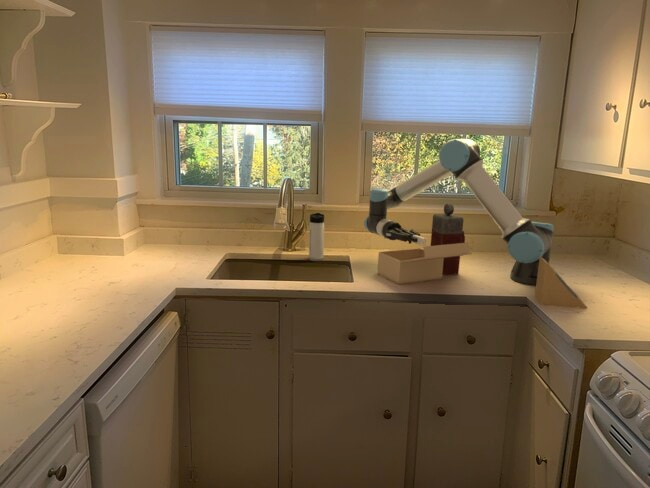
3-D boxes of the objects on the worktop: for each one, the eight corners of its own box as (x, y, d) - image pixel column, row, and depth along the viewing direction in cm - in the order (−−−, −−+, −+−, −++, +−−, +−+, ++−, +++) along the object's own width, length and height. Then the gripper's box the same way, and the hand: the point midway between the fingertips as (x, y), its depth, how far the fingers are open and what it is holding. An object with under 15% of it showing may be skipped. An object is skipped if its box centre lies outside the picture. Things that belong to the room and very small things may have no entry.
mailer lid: (423, 246, 168) (424, 258, 167) (469, 242, 176) (471, 253, 176) (398, 251, 181) (400, 262, 181) (443, 246, 190) (444, 257, 190)
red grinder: (463, 274, 200) (470, 205, 194) (438, 275, 197) (444, 205, 190) (452, 268, 208) (458, 202, 202) (428, 269, 205) (433, 202, 199)
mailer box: (377, 274, 196) (378, 252, 194) (418, 269, 205) (420, 248, 203) (398, 284, 183) (400, 261, 181) (441, 279, 192) (443, 256, 190)
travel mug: (323, 257, 218) (325, 213, 214) (322, 261, 212) (323, 215, 208) (309, 257, 219) (310, 212, 214) (307, 260, 213) (308, 215, 208)
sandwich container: (589, 309, 164) (596, 265, 161) (540, 305, 166) (546, 262, 163) (580, 300, 172) (587, 259, 169) (534, 297, 175) (539, 256, 171)
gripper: (402, 237, 208) (437, 250, 187) (375, 239, 202) (409, 253, 182) (403, 220, 206) (439, 231, 186) (376, 221, 201) (410, 233, 180)
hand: (424, 242), depth 184 cm, fingers closed
